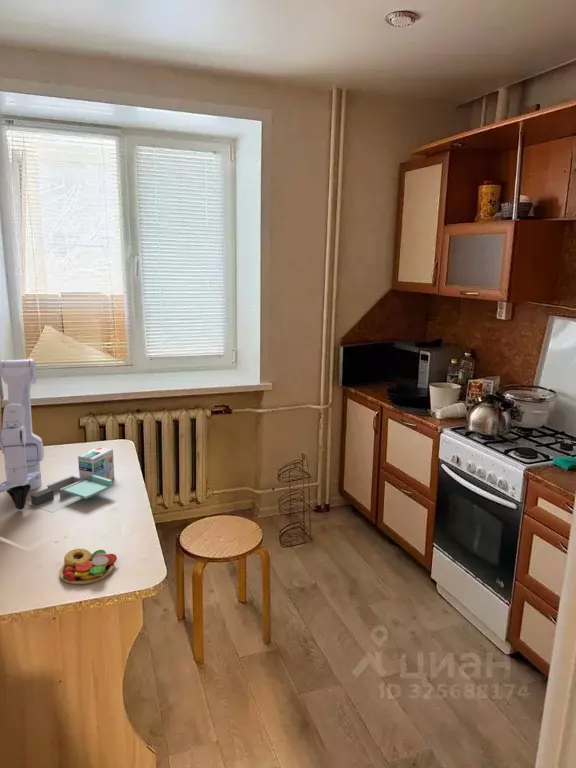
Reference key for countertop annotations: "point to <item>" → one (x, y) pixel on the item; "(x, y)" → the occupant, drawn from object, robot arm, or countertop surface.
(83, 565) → the toy food set
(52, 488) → the board
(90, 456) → the light bulb box
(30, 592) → the countertop surface
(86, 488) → the cover
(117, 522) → the countertop surface
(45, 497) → the grey rectangular prism
